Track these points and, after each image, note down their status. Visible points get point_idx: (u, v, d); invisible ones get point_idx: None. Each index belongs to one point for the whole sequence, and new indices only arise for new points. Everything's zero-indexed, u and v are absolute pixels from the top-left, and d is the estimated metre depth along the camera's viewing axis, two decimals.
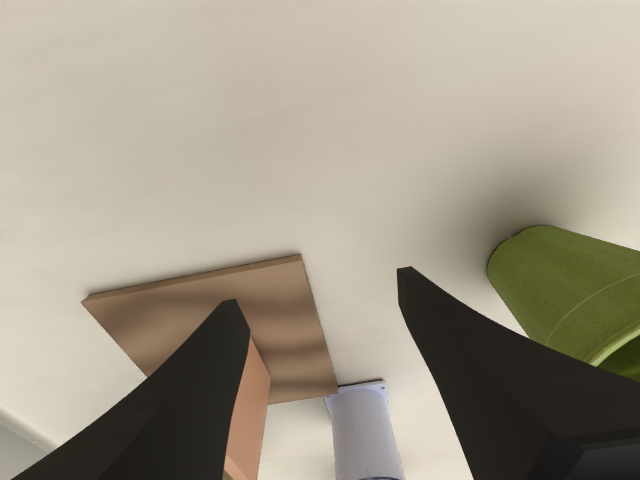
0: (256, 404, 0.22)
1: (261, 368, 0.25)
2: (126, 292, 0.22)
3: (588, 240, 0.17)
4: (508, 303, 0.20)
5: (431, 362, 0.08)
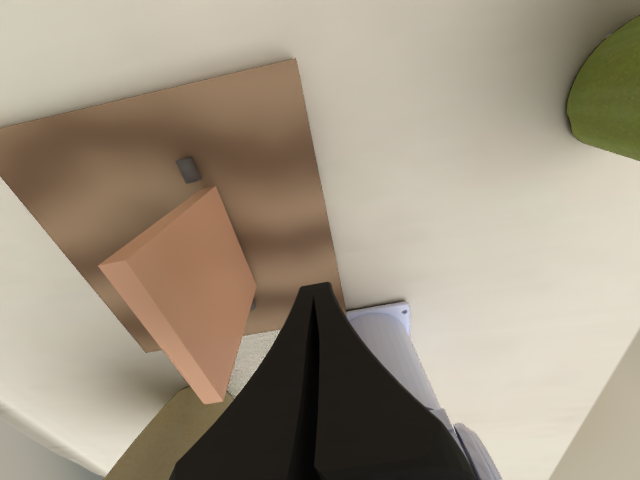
0: (230, 294, 0.15)
1: (241, 261, 0.18)
2: (35, 120, 0.14)
3: None
4: (619, 115, 0.13)
5: None
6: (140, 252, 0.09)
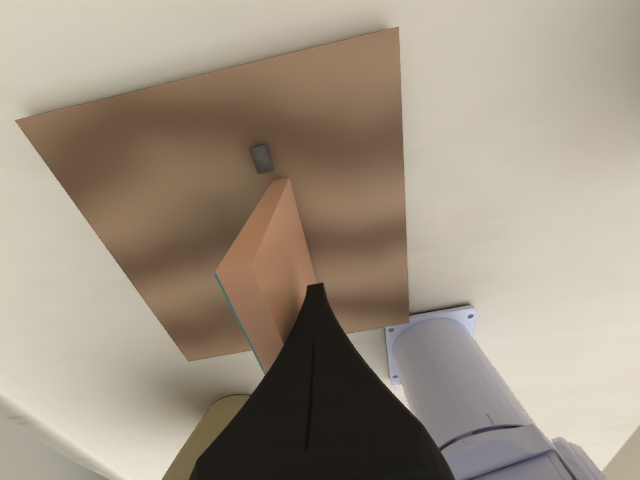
0: None
1: (309, 263, 0.16)
2: None
3: None
4: None
5: None
6: (259, 254, 0.07)
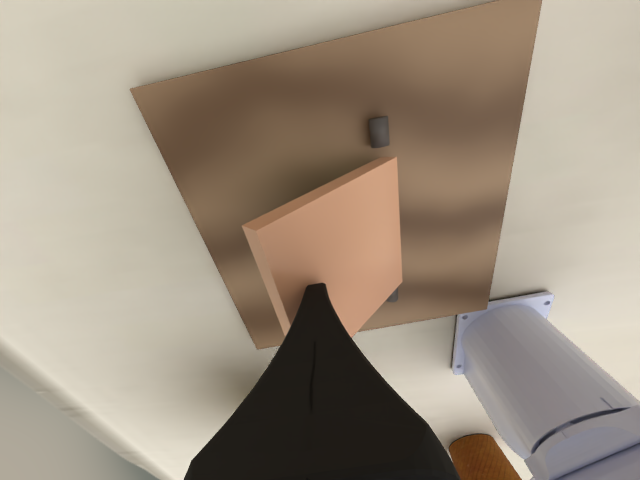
0: (363, 284, 0.14)
1: (394, 251, 0.15)
2: (212, 69, 0.12)
3: None
4: None
5: None
6: (274, 225, 0.09)
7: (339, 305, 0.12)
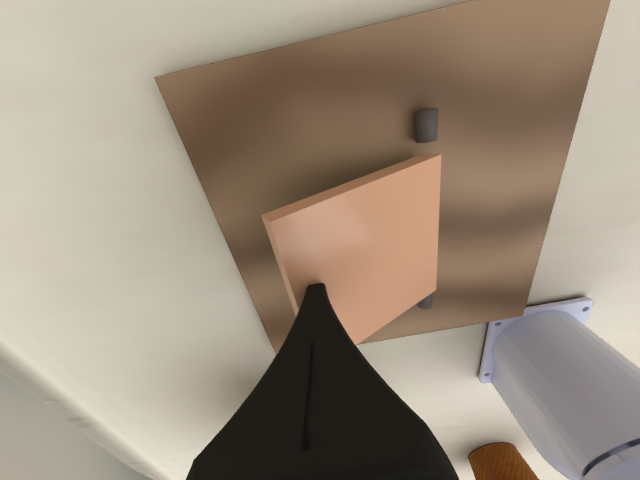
0: (386, 287, 0.13)
1: (428, 256, 0.14)
2: None
3: None
4: None
5: None
6: (288, 218, 0.09)
7: (355, 303, 0.12)
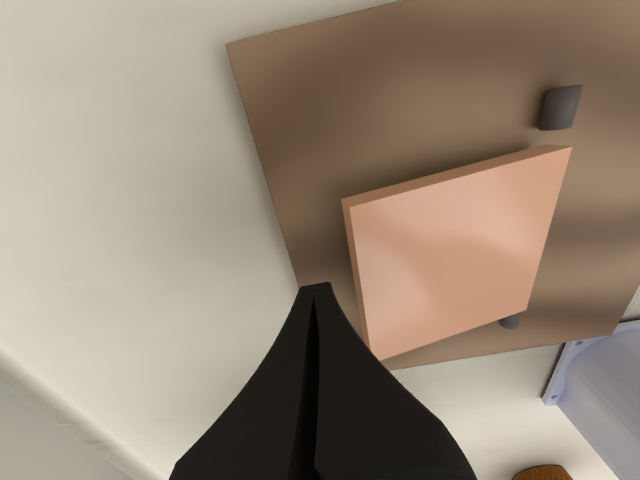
0: (463, 294, 0.12)
1: (524, 269, 0.12)
2: None
3: None
4: None
5: None
6: (369, 205, 0.08)
7: (424, 305, 0.11)
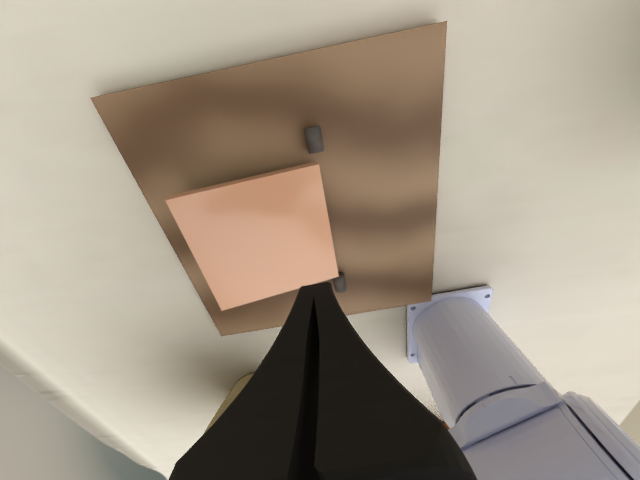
0: (277, 262, 0.17)
1: (322, 246, 0.17)
2: (163, 82, 0.14)
3: None
4: None
5: None
6: (179, 199, 0.14)
7: (248, 268, 0.17)
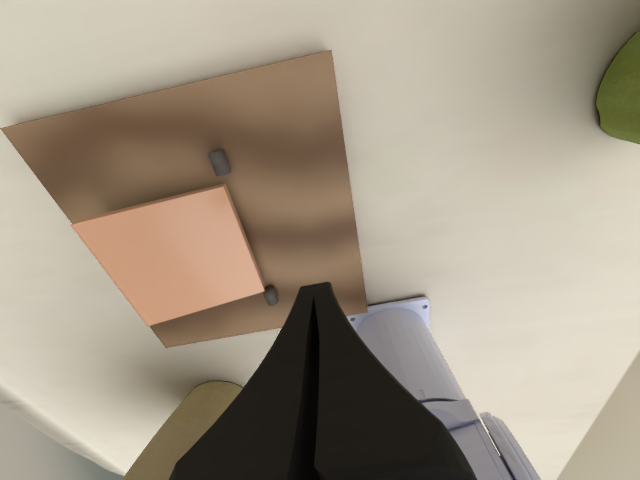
0: (197, 279, 0.18)
1: (242, 263, 0.18)
2: None
3: None
4: None
5: None
6: (84, 223, 0.14)
7: (168, 286, 0.17)
